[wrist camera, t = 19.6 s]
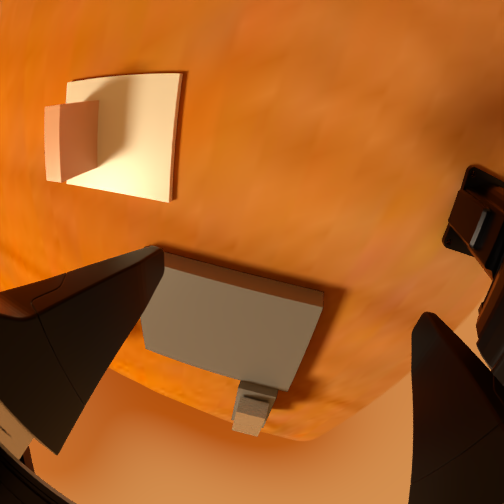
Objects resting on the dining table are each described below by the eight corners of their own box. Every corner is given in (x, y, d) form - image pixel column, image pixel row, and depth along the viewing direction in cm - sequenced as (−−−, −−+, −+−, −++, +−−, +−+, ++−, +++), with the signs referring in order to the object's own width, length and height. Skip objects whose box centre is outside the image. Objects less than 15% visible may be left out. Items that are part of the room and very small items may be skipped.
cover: (185, 74, 17) (144, 67, 13) (174, 198, 22) (137, 225, 18) (74, 82, 19) (30, 86, 14) (73, 180, 24) (33, 199, 19)
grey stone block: (269, 403, 27) (265, 418, 25) (261, 422, 29) (257, 436, 27) (241, 396, 27) (236, 411, 25) (236, 416, 30) (231, 430, 28)
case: (323, 292, 23) (322, 316, 20) (275, 410, 33) (270, 429, 30) (145, 246, 25) (127, 263, 22) (159, 375, 35) (150, 391, 32)
